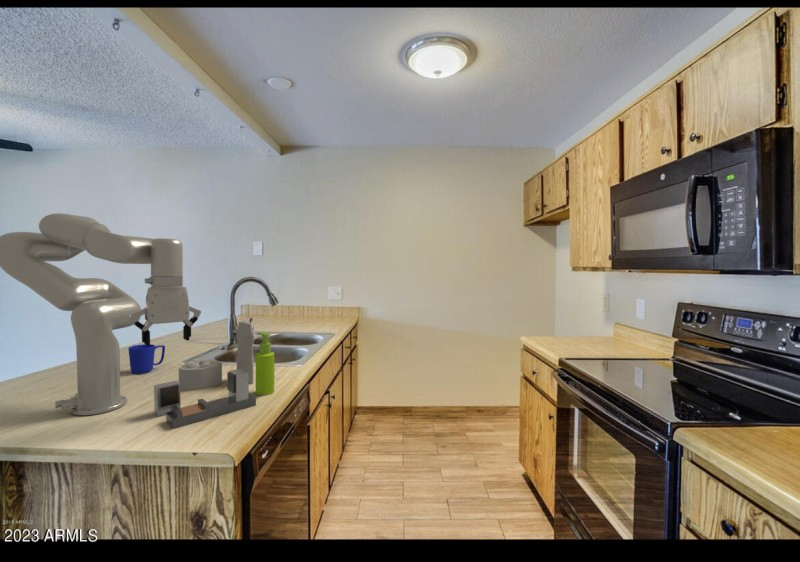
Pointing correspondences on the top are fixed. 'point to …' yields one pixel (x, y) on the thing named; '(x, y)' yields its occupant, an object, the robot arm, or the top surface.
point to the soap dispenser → (265, 367)
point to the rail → (215, 402)
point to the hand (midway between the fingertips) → (167, 342)
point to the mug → (143, 358)
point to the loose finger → (166, 397)
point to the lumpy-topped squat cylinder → (200, 374)
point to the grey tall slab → (245, 348)
